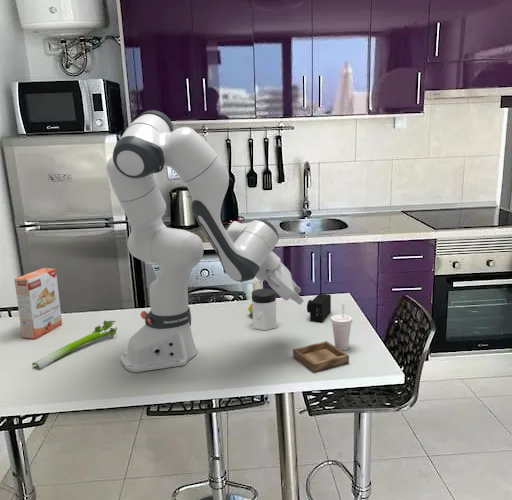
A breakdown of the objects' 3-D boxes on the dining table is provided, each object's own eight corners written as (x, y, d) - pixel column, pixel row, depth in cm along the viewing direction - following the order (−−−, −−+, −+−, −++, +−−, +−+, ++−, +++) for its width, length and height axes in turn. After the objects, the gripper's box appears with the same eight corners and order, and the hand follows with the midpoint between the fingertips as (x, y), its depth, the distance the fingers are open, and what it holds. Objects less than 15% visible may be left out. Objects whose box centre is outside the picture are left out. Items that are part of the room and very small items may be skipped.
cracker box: (36, 340, 177) (27, 279, 172) (21, 338, 179) (12, 278, 174) (63, 324, 190) (56, 268, 185) (50, 323, 191) (42, 267, 186)
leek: (30, 372, 158) (108, 330, 181) (45, 380, 155) (123, 337, 178) (27, 354, 156) (107, 314, 179) (42, 362, 152) (121, 321, 176)
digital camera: (316, 311, 193) (316, 292, 192) (330, 312, 191) (330, 294, 189) (306, 321, 184) (306, 301, 182) (321, 323, 182) (321, 303, 180)
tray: (313, 372, 146) (313, 364, 146) (293, 357, 157) (292, 349, 156) (348, 363, 151) (348, 355, 150) (326, 348, 161) (326, 341, 161)
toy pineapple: (247, 319, 188) (246, 305, 186) (251, 309, 197) (250, 295, 196) (266, 319, 187) (266, 305, 186) (269, 309, 196) (269, 295, 195)
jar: (247, 328, 180) (245, 294, 177) (259, 319, 187) (257, 287, 184) (270, 332, 176) (269, 297, 173) (282, 323, 182) (281, 290, 180)
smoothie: (355, 350, 159) (356, 306, 156) (336, 353, 158) (336, 309, 154) (346, 342, 165) (346, 299, 162) (327, 345, 164) (327, 302, 160)
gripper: (274, 268, 145) (311, 301, 147) (272, 250, 164) (305, 279, 167) (258, 284, 146) (295, 317, 148) (258, 264, 166) (291, 293, 168)
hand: (300, 296), depth 157 cm, fingers open, 8 cm apart
